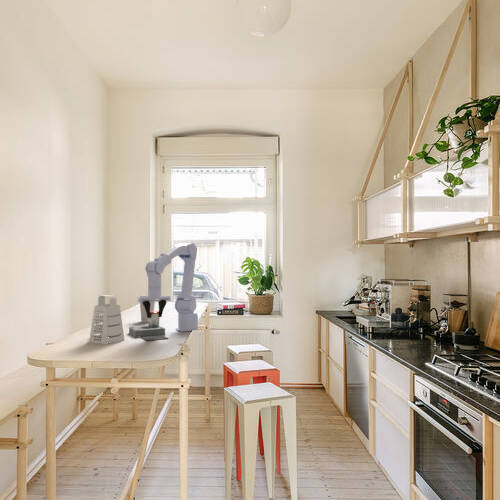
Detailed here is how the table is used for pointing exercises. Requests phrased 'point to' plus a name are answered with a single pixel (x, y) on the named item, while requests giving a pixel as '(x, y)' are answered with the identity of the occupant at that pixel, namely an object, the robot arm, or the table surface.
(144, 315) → the coffee cup
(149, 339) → the mat
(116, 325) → the grater
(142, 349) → the table surface
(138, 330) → the housing
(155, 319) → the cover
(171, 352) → the table surface
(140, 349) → the table surface
